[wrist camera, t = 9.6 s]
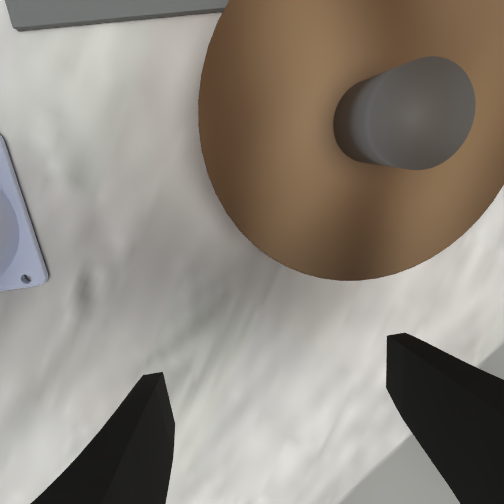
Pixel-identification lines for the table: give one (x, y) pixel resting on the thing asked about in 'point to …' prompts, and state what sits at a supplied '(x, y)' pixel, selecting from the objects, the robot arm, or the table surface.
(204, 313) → the table surface
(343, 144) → the lid
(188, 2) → the mat
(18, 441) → the table surface
